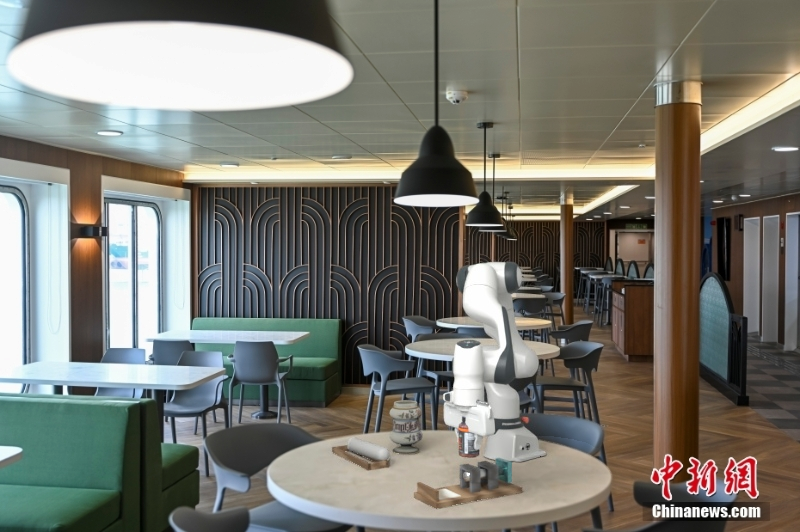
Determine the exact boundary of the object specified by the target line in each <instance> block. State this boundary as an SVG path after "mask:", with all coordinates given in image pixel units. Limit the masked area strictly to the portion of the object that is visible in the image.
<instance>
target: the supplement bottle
mask: <svg viewBox="0 0 800 532" xmlns="http://www.w3.org/2000/svg"><path fill="white" fill-rule="evenodd" d="M465 421H466V417H464V416H462V422H461V423H460V424H459V444H458V456H460V457H462V458H467V459H471V458H474V459H475V458H477V457H479V456H480V450H481V448H480V449H478V450H476V449H473V442H475V439H476V437H474V433H471V432H469V430H468V426H467V425H466V423H465Z"/></svg>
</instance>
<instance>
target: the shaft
mask: <svg viewBox="0 0 800 532" xmlns="http://www.w3.org/2000/svg"><path fill="white" fill-rule="evenodd" d="M494 462H495V463H494V464H496V465H498V479H499V480H501V481H504V482H506V483H513V461H508V460H505V459H502V458H495V461H494ZM463 478H464V480H465V481H466V482H467V481H470V472H468V471H466V472H464V473H463ZM484 478H488V469H486V468H484V469H480V479H484Z"/></svg>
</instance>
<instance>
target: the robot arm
mask: <svg viewBox="0 0 800 532" xmlns="http://www.w3.org/2000/svg"><path fill="white" fill-rule="evenodd" d="M455 278H456V279H455V280H456V286H457V289H458V292H459V293H460V294H461V295H462V308H463V311H464V312H465V314H466V315H467V316H468V317H469V318H471V319H472V320H473V321H475V322H477V323H480V324H482V325H483V329H484V332H485V334H486V335H487V336H488V337H490V338H492V339H493V340H494V341H495V342H496V343H497V344H483V345H482V342H480V341H478V340H476V339H464V340H460V341H457V343H455V346H454V351H453V358H452V360H451V373H452V375H453V377H454V381H453V385H452V386H453V387H452V388H453V389H452V390H451V391H449V392H445V393H443V395H442V399H443V401H444V403H443V421H444V424H445V425H446V426H448V427H450V428H454V433H455V436H456V438H457V444H458V445H459V424H460V423H461V422H462V416H464V417H466V421H465V423H466V425H467V426H468V430H469V432H471V433H474V437H476V439H475V442H473V449H476V450H478V449H480V450H481V447H482V442H483V439H484V437H486V441H485V442H486V443H485V448H484V452H483V457H485V459H488V460H489V459H490V460H495V458H502V459H505V460H508V461H510V462H518V463H519V462H520V463H521V462H525V461H529V460H533V459H536V458H540V456H541V457H543V456H547V453H546V451H545V450H544V449H541V448H540V442H539V439H538V436H536V435H535V434H534V433H533V432H532V431H530V430H529V429H528V428H526V427H525V425H524V423H525V424H528V423H529V422H530V420H529V417H528V416H527V417H526V416H521V415H520V395H519V393H518V392H517V390H516V389H514V388H513V387H512V386H510V383H512V382H513V381H514V380H515V379H524V378H525V379H526V378H531V377H533V376H534V375H536V373H537V371H538V369H539V365H540V364H539V363H540V361H539V357H538V355H537V353H536V352H535V350H533V349H532V348H530V347H529V346H528V345H527V343H526V342H525V341H524V340H523V338H522V336H521V335H520V333H519V331H518V328H517V323H516V318H515V317H516V316H515V310H514V303H513V298H512V297H513V296H512V294H514V293H515V292H518V290H519V289H520V288H521V285H522V282H523V275H522V271H521V269H520V266H519V265H518V264H517V262H515V261H506V262H504V261H503V262H502V261H490V262H489V261H487V262H481V263H477V264H471V265H470V264H468V265H467V264H466V265H464V266H461V267H460V268H459V270H458V271H457V274H456V277H455ZM485 392H486V398H487V399H486V400H487V401H485Z"/></svg>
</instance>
